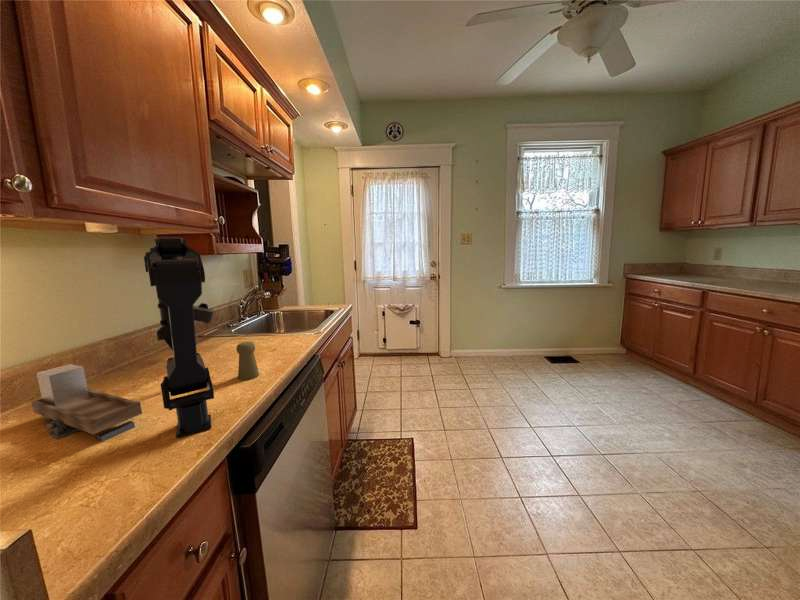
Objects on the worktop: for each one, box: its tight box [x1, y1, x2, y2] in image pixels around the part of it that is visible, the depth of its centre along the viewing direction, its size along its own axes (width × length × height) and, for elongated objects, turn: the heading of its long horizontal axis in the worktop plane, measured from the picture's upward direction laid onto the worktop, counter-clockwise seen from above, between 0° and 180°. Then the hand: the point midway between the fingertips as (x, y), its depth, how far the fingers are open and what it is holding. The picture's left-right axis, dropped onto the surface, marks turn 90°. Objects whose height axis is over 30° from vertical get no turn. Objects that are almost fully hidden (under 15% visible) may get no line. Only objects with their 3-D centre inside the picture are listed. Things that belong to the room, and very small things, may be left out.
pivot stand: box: [44, 416, 136, 443], centre depth 74 cm, size 25×13×3 cm, turn 67°
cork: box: [236, 341, 260, 381], centre depth 99 cm, size 6×6×11 cm
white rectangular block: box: [36, 363, 89, 408], centre depth 76 cm, size 6×6×8 cm
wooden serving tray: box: [31, 388, 143, 435], centre depth 74 cm, size 26×9×3 cm, turn 67°
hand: (180, 357), depth 82 cm, fingers closed
